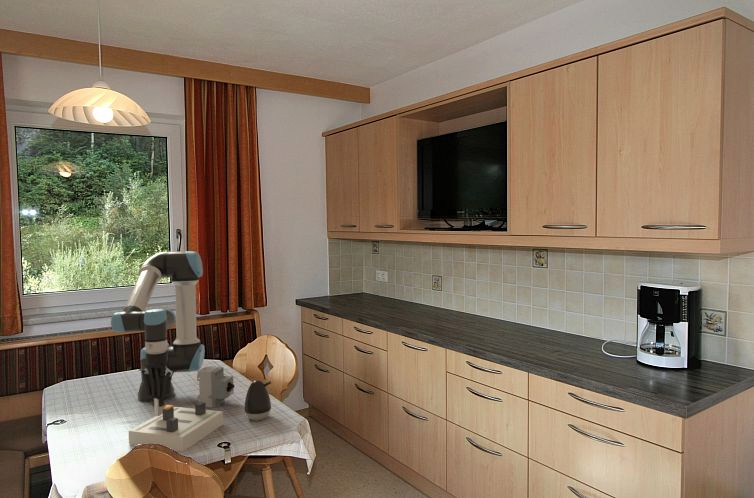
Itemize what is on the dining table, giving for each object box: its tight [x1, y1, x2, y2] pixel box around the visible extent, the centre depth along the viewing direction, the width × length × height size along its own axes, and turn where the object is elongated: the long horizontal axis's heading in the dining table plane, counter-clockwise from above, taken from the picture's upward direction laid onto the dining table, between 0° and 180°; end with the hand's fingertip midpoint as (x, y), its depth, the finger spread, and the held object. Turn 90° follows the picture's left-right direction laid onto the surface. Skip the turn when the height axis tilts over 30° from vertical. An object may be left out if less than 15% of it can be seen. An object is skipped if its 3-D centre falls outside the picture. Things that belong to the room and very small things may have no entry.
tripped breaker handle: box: [162, 404, 175, 420], centre depth 187 cm, size 2×3×5 cm
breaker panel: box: [128, 402, 224, 453], centre depth 186 cm, size 22×24×9 cm
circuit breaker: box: [196, 365, 235, 408], centre depth 217 cm, size 8×14×15 cm, turn 78°
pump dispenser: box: [244, 379, 272, 422], centre depth 200 cm, size 10×10×15 cm
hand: (159, 414), depth 188 cm, fingers closed
